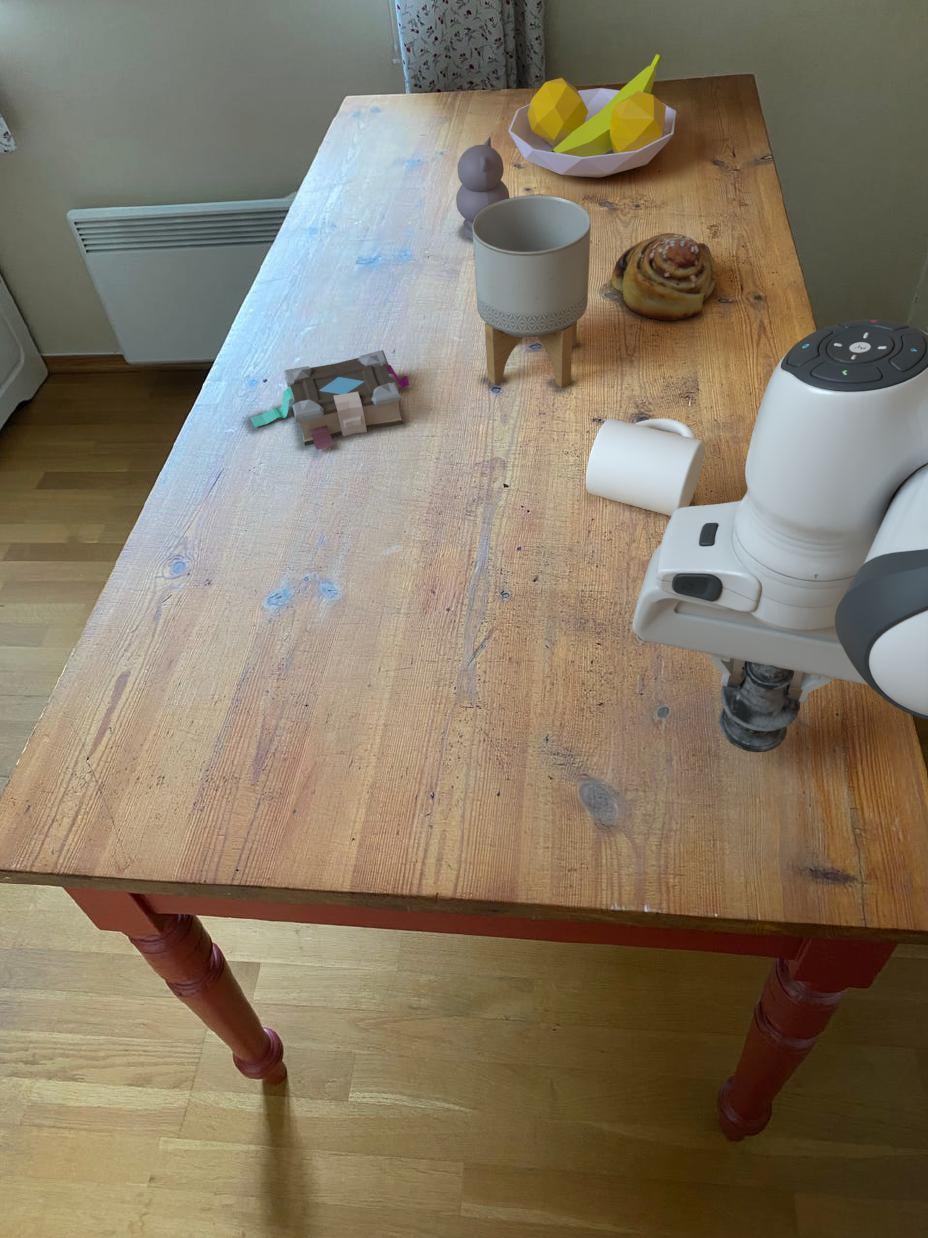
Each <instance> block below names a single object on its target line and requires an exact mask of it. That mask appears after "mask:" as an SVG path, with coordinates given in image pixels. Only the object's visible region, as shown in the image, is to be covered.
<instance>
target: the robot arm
mask: <svg viewBox="0 0 928 1238" xmlns="http://www.w3.org/2000/svg"><path fill="white" fill-rule="evenodd" d="M744 471H745V482H746V488H747V490H746V493H745V494H744V496H743V498H742V499H741V500H735V501H730V502H729V501H728V502H722V503H714V504H704V505H691V506H690V505H689V507H682V508H679V509H677V510H675V511H674V513H673V515H672V516H670V518H669V521H668V523H667V525H666V527H665V530H664V533H663V536H662V540H661V542H660V545H658V546H657V548H656V549H655V550H654V552H653V553H652V556H651V558H650V560H649V563H648V566H647V568H646V571H645V575H644V578H643V581H642V585H641V587H640V591H639V595H638V597H637V603H636V607H635V610H634V614H633V618H632V624H631V630H632V632H634V634H635V635H636V636H637V637H638V638H639V639H640V640H641V641H643V642H646V643H652V644H658V645H663V646H668V647H673V648H679V649H684V650H688V651H692V652H698V653H703V654H707V655H710V660H711V661H712V663H713V664H714V666H715V667H716V668H717V670H718V671H719V673H720V674H722V675H721V679H720V687H723V686H726V687H732V688H737V689H740V686H741V682H742V678H743V672H744V663H745V661H748V662H753V663H758V664H764V665H773V666H775V667H779V668H784V669H789V670H794V676H793V679H792V681H791V682H790V683H789V684H788V685H787V688H786V690H787V691H786V695H785V699H790V700H794V701H799V702H800V703H804V704H806V702H807V701H808V697H809V696H810V692H814V691H817V690H818V689H820V688H822V687H824V686H826V685H828V684H831V683H832V680H833V679H835V680H840V681H845V682H850V683H855V684H860V685H864V686H869V687H870V688H871V689H872V690H873V691H874V692H875V693H876V694H877V695H879V696H880V697H881V698H882V699H883V700H885V701H886V702H888V703H889V704H891V705H892V706H894V707H895V708H897V709H899V710H901V711H903V712H904V713H907V714H909V715H911V716H914V717H918V718H920V719H923V720H927V721H928V332H925V331H924V330H922V329H920V328H918V327H916V326H914V325H910V324H907V323H904V322H901V321H895V320H890V319H889V320H888V319H881V318H879V319H878V318H864V319H853V320H847V321H843V322H839V323H835V324H832V325H829V326H825V327H823V328H821V329H818V330H815V331H814V332H811V333H810V334H808V335H807V336H805V337H803V338H802V339H800V340H799V341H798V342H796V343H795V344H794V345H793V346H792V347H791V348H790V349H789V350H788V351H787V352H786V353H785V355H783V356H782V358H781V359H780V361H779V362H778V364H777V365H776V367H775V368H774V370H773V372H772V373H771V376H770V378H769V381H768V383H767V385H766V388H765V390H764V393H763V396H762V399H761V402H760V404H759V409H758V411H757V414H756V419H755V422H754V426H753V429H752V433H751V437H750V443H749V446H748V452H747V456H746V461H745V470H744Z"/></svg>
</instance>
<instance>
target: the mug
mask: <svg viewBox="0 0 928 1238" xmlns="http://www.w3.org/2000/svg"><path fill="white" fill-rule="evenodd" d="M705 452H706V444H705V442H704V440H702V439H698V436H697V434H696V432H695V431H694V430H693V429H692V428H690V427H689V426H688V425H687V424H685V423H683V422H681V421H678V420H676V419H673V418H651V419H645V420H641V421H637V422H635V423H632V422H628V421H624V420H619V419H615V418H608V419H607V420H605V421H604V422H603V424H602V425H601V426H600V429H599V430H598V432H597V434H596V437H595V439H594V441H593V443H592V447H591V450H590V454H589V457H588V462H587V466H586V474H585V488H586V492H587V493H588V494H590V495H593V496H596V497H600V498H603V499H607V500H611V501H615V502H617V503H622V504H624V505H628V506H633V507H637V508H640V509H643V510H647V511H651V512H653V513H658V514H662V515H665V516H668V517H672V515H673V513H674V511H675V510H677V509H679V508H682V507H689V506H690V505H691V502H692V499H693V497H694V495H695V492H696V489H697V485H698V483H699V480H700V476H701V472H702V469H703V465H704V460H705Z"/></svg>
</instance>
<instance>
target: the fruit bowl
mask: <svg viewBox="0 0 928 1238" xmlns="http://www.w3.org/2000/svg"><path fill="white" fill-rule="evenodd" d="M662 58H663V57H662V56H661V55H660V54H658V53H656V54H655V56H654V57H653V59H652V62H651V64H650V65H647V66H646V67H645V68H643V69H642V71H641V72H639V73H638V74H637V75H636V76H635V77H633V79H631V80H630V81H629V82H627V83H626V84H625V85H624V86H623V87H622V88H621V89H620V90H618V89H612V88H604V87H599V88H588V89H582V90H581V89H580V90H577V87H576V86H574V85H573V84H571V83H570V82H569V81H567V80H565V79H564V78H563V77H559V78H555V79H552V80H548V81H545V83H544V84H543V85H542V86H540V88H539V90H538V91H537V92H536V93H535V95H534V96H533V97H532V98H531V100H530V103H529V104H526V105H524V106H522V107H520V108H518V109H516V111H515V114H514V116H513V118H512V121H511V123H510V126H509V129H508V133H509V135H510V137H511V139H512V140H513V142H514V144H515V145H516V147H517V149H518V150H519V152H520V154H521V155H522V157H523V159H524V160H525V161H528V162H530V163H532V164H534V165H536V166H539V167H542V168H544V169H547V170H549V171H550V172H553V173H556V174H558V175H562V176H573V177H585V178H586V177H587V178H597V179H601V178H604V177H607V176H611V175H615V174H618V173H621V172H625V171H629V170H632V169H635V168H639V167H642V166H646V165H648V164H649V163H650V162H651V161H652V160H653V159H654V158H655V156H657V155H658V153H659V152H660V151H661V150H662V149H663V148H664V147H665V146H666V145H667V144H668V143H669V141H670V140H671V138H672V137H673V135H674V132H675V123H676V117H677V116H676V115H677V111H676V110H675V109H673V107H670V106H669V105H666V104H665V103H663V102H662V101H661V100H660V99H658V98H657V97H656V96H655V95H654V94H652V93H651V92H652V89H653V86H654V83H655V80H656V75H657V71H656V70H657V68H658V66H659V64H660V62H661V60H662Z"/></svg>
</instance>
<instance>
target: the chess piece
mask: <svg viewBox="0 0 928 1238" xmlns="http://www.w3.org/2000/svg"><path fill="white" fill-rule="evenodd" d="M793 676H794V670H789V669H784V668H779V667H775V666H773V665H764V664H758V663H753V662H748V661H745V663H744V672H743V678H742V682H741V686H740V689H737V688H732V687H726V686H721V689H720V701H721V705H722V708H721V710H720V712H719V714H718V726H719V729H720V732H721V733H722V735H723V736H724V738H725V739H726V740H727V741H728V742H729V743H730V744H731V745H733V746H735V747H736V748H738V749H740V750H743V751H746V752H751V753H766V752H769V751H773V750H774V749H776V748H778V747H779V746H781V744H782V743H783V742H784V741H785V739H786V736H787V733H788V726H790V725H791V724H793V722H794V721H795V720H796V719H797V717H798V715H799V712H800V709H801V702H799V701H794V700H790V699H785V695H786V691H787V690H786V688H787V685H788V684H789V683H790V682H791V681H792V679H793Z"/></svg>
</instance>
